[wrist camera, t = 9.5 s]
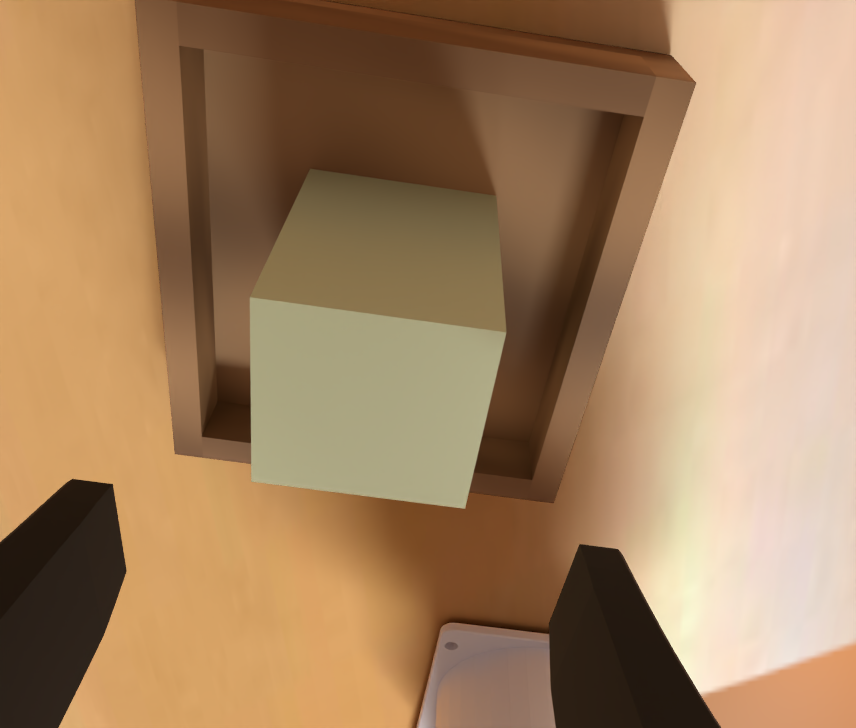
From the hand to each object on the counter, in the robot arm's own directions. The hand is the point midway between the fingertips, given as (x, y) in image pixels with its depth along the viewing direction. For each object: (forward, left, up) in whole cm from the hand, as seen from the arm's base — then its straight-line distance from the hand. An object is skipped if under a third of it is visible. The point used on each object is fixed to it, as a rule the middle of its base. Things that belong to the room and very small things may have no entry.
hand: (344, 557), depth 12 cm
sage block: (0, 0, -9) cm, 9 cm away
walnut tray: (0, 0, -10) cm, 10 cm away
